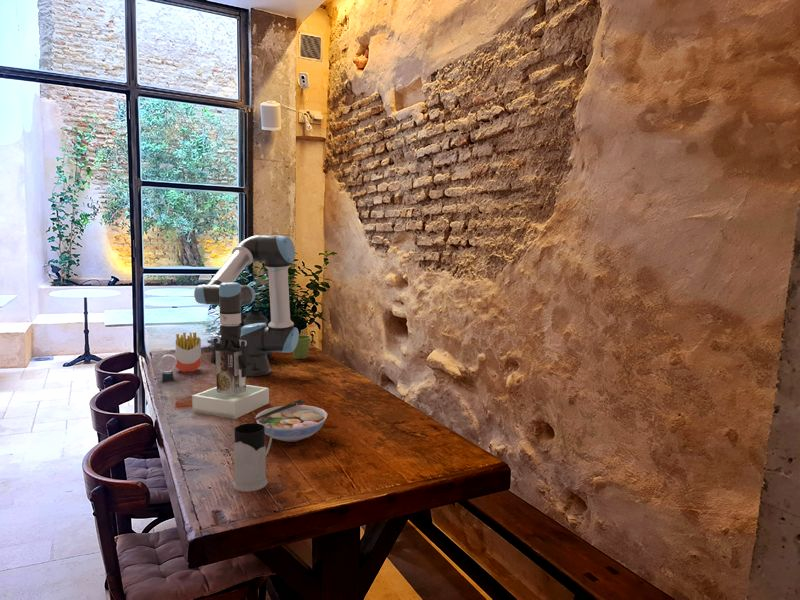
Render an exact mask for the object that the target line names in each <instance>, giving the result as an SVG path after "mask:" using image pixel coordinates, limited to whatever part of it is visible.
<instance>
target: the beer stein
mask: <svg viewBox="0 0 800 600" xmlns="http://www.w3.org/2000/svg"><path fill="white" fill-rule="evenodd" d="M268 320H269V319H268V318H267V317H266V316H265V315H263V314H262V313H261V312H260V311H259V310H250V311H249V312H248V313H247V312H246V313H243V314H242V315H241V323H240V325H241V328H242V327H243V326H245V325H249V324H255V323H266V325H267V326H268ZM272 356H273V352H267V359H268V361H269V360H271V359H272V358H273V357H272Z"/></svg>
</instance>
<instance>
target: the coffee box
mask: <svg viewBox="0 0 800 600" xmlns="http://www.w3.org/2000/svg"><path fill="white" fill-rule="evenodd" d="M240 355H242V351H241V350H238V351H232V350H230V349H225V350H221V348H220V350H216V365H215V373H216V387H217V392H218V393H225V394H231V395H237V394H240V393H243V392H246V385H247V379H246V378H247V376H246V377H245V385H243V386H239V368H240V365H239V363H238V356H240Z"/></svg>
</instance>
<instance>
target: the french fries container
mask: <svg viewBox="0 0 800 600" xmlns="http://www.w3.org/2000/svg"><path fill="white" fill-rule="evenodd" d="M175 338H176V339H175V358H176V360H177V365H176V367H175V368H177V369H178V370H179V371H180V372H182V373H185V372H187V371H188V372H195V371H197V370H198V369H199V368H200V367H201V365H202V351H201V350H202V348H201V347H202V346H201V345H202V343H201V342H202V341H201V338H200V336H197V332H196V331H195V332H194V331H193V332H189V335H186V332H183V334H179V333H177V334H175ZM176 360H175V361H176Z"/></svg>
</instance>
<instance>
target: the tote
mask: <svg viewBox="0 0 800 600" xmlns="http://www.w3.org/2000/svg"><path fill="white" fill-rule="evenodd" d="M269 391H270V388H269V387H265V386H264V387H263V386H258V385H250V384H246V392H243V393H240V394H237V395H231V394H225V393H218V392H217V386H215V387H212V388H209V389H207V390H204V391H200V392H198V393H196V394H192V395H191V396H192V397H191V401H192V406H191V407H192V413H200V414H204V415H212V416H216V417H217V416H218V417H222V418H228V419H233V420H235V419H238V418H240V417H242V416H244V415H246V414H249V413H251V412H253V411H255V410H257V409H259V408H261V407H263V406H265V405H268V404H270V392H269Z"/></svg>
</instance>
